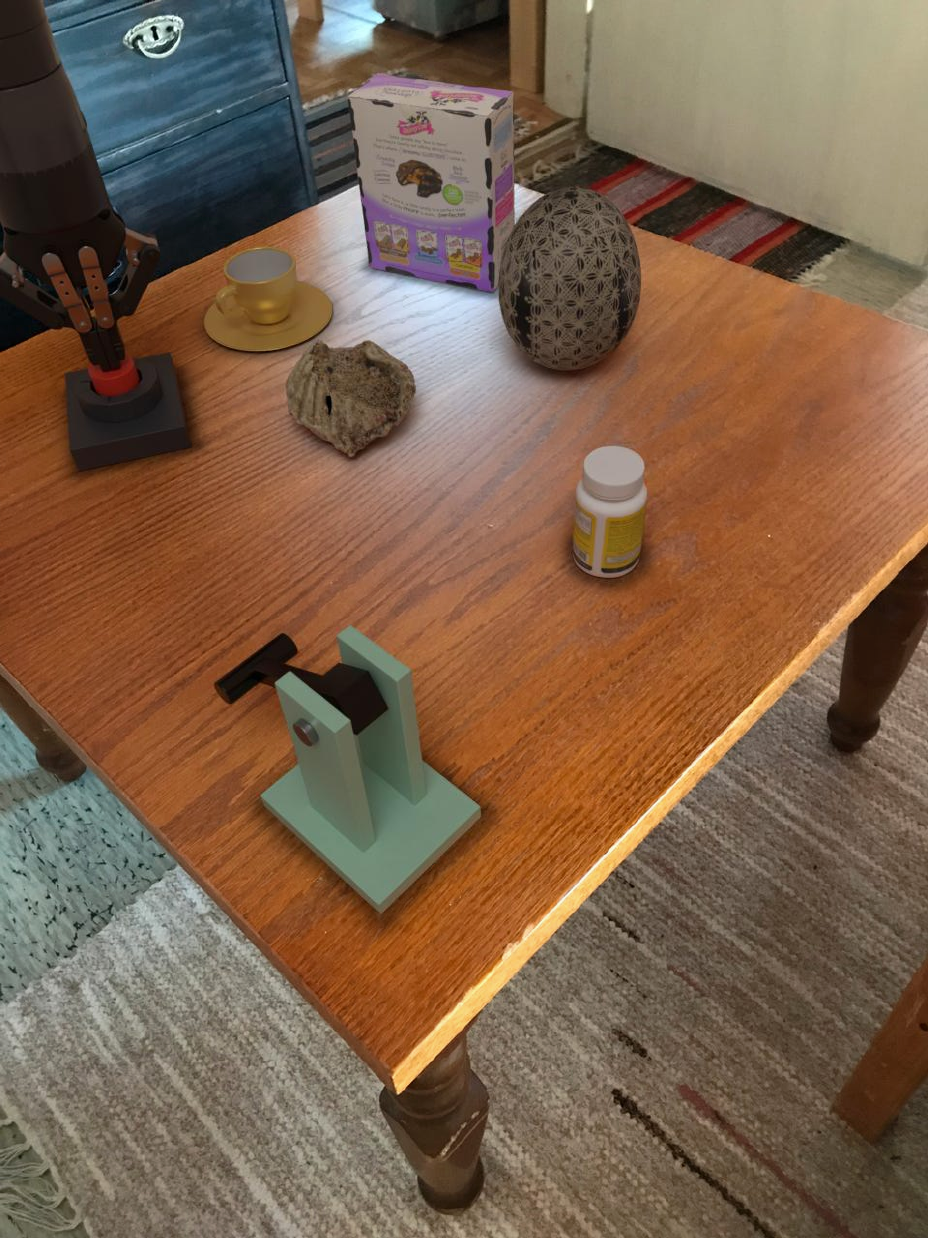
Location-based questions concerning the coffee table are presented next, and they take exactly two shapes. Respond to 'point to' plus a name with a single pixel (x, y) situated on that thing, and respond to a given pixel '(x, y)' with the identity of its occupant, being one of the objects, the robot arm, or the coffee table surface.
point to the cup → (265, 303)
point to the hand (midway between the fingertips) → (111, 363)
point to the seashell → (349, 393)
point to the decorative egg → (569, 279)
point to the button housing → (126, 416)
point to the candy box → (435, 177)
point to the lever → (307, 682)
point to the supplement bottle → (609, 512)
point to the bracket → (366, 783)
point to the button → (115, 378)
